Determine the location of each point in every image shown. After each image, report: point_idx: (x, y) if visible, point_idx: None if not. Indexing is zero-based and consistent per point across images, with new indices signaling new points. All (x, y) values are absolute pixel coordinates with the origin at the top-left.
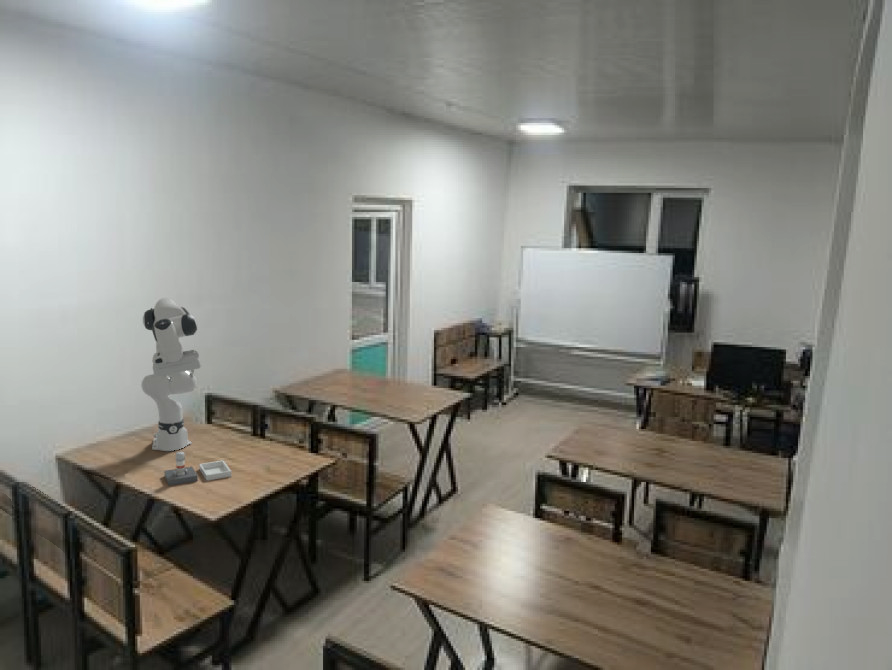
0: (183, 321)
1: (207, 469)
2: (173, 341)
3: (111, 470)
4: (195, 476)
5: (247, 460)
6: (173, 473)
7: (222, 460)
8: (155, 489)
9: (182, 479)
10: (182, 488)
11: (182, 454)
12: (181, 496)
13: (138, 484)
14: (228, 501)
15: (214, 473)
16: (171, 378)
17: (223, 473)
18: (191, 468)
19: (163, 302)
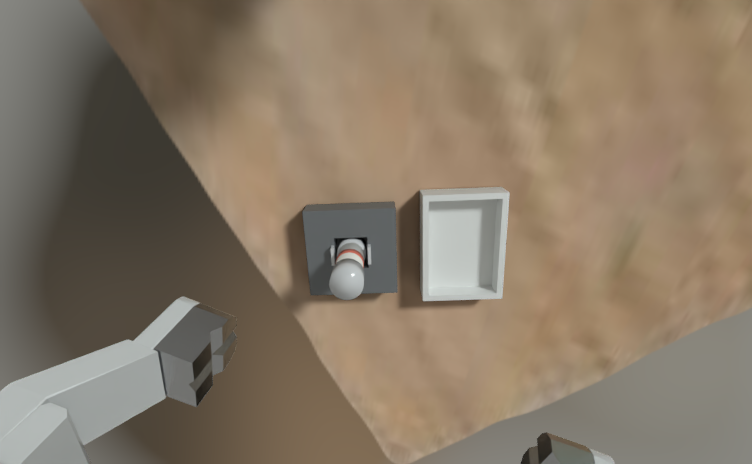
0: None
1: (444, 206)
2: None
3: (129, 47)
4: (391, 291)
5: (597, 152)
6: (329, 246)
7: (505, 194)
8: (277, 276)
9: None
10: None
11: (353, 298)
12: (340, 347)
13: (229, 219)
14: (444, 415)
15: (449, 297)
16: (202, 369)
17: (476, 297)
18: (390, 226)
19: None
